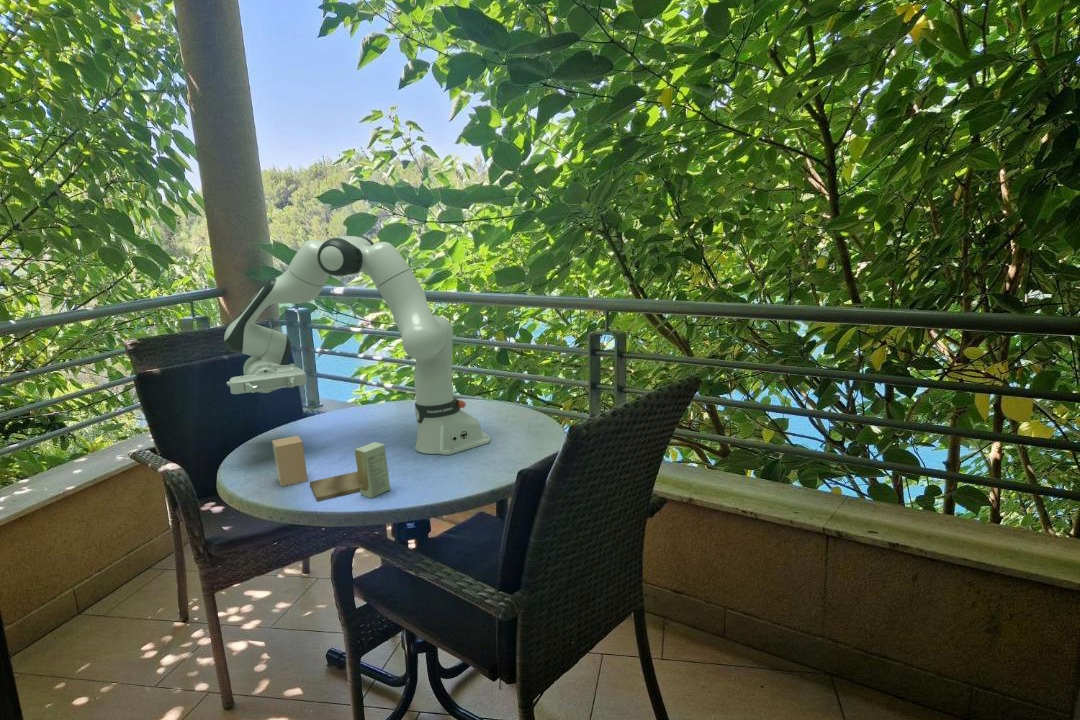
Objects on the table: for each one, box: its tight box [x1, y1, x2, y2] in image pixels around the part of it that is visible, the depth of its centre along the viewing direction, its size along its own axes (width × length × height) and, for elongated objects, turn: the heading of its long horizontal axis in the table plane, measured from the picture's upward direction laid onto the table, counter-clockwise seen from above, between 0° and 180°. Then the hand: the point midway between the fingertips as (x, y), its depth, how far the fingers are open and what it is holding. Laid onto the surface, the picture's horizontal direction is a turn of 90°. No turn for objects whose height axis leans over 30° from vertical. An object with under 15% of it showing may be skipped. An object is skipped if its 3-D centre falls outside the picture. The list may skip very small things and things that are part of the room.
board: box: [309, 470, 361, 502], centre depth 161 cm, size 13×12×1 cm
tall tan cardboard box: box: [271, 435, 308, 487], centre depth 167 cm, size 7×7×11 cm
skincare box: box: [354, 441, 391, 499], centre depth 155 cm, size 6×4×12 cm
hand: (273, 387), depth 173 cm, fingers open, 8 cm apart
